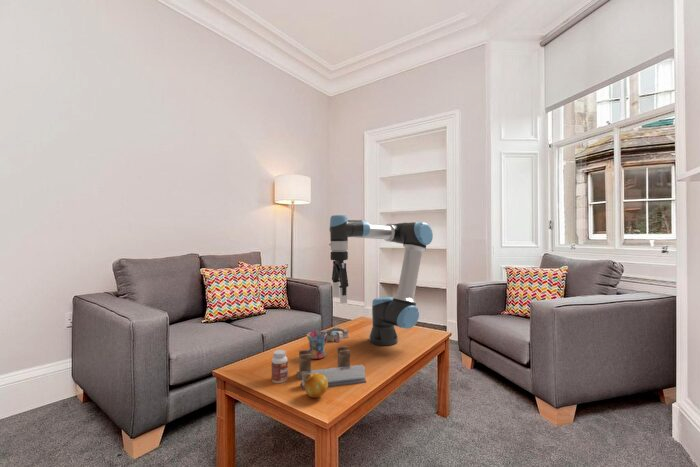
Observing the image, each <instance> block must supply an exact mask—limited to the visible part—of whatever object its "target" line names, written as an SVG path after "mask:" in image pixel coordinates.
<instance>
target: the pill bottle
mask: <svg viewBox="0 0 700 467" xmlns="http://www.w3.org/2000/svg"><path fill="white" fill-rule="evenodd" d="M286 354H287V353H286V350H284V349H277V350H274V351H273V357H272V358H271V381H272V383H274V384H282V383H285V382H286V381H288V378H289V375H288V374H289V373H288V372H289V371H288V370H289V368H288V367H289V365H288V364H289V363H288V361H289V359H288V357H287V356H286Z"/></svg>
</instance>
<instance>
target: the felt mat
mask: <svg viewBox="0 0 700 467" xmlns="http://www.w3.org/2000/svg"><path fill="white" fill-rule="evenodd" d="M364 383H367V379H366V378H365V379H362V380H354V381H346V382H338V383H330V384H328V388H331V387H332V388H333V387H338V386H347V385H354V384H364ZM301 385H302V384H301ZM302 389H303V391H305V387H303V385H302Z"/></svg>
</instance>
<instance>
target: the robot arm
mask: <svg viewBox="0 0 700 467" xmlns="http://www.w3.org/2000/svg"><path fill="white" fill-rule="evenodd" d="M329 233H330V234H329V235H330V237H329V238H330V240H329V241H330V243H329V244H328V245H329V246H330V250H331V251H330V260H331V261H333V262H332V274H331V281H332V297H333V298H340V300H339V303H340V304H348V287H349V280H348V279H349V278H348V274H347V272H348V271H347V263H345V262H344V261H348V259H349V251H348V250H349V240H348V238H356V239H357V238H358V239H371V240H372V239H373V240H374V239H375V240H384V241H385V242H391V243H396V244H401V245H402V246H403V248H404V249H405V251H404V255H403V261H402V266H401V271H400V277H399V282H398V287H397V291H396V292H397V294H396V295H394V297H393V296H386V297H385V296H382V297H377V298H376V297H375V298H374V299H373V300H372V302H371V303H372V305H371V308H372V309H371V310H372V311H371V313H372V314H371V316H372V321H371V322H372V327H371V330H370V333H369V338H368V339H369V340H368V341H369V343H371V344H374V345H377V346H392V345H396V344H397V343H398V342H399V338H398V333H397V331H396V328H395V327H398V328H401V329H404V330H405V329H406V330H407V329H412V328H413V327H414V326H416V325H417V323H418V321H419V319H420V311H419V308H418V307H417V302H416V300H415V293H416V289H417V283H418V276H419V271H420V266H421V259H422V256H423V255H422V254H423V252H424V251H426V248H427V246H428V245H430V244H431V243H432V241H433V238H434V237H433V230H432V228H431V226H430V225H429V224H428V223H427V222H424V221H416V222H413V221H412V222H411V221H410V222H400V223H386V224H375V223H370V222H369V221H368V220H366V219H365V220H363V219H352V220H351V219H348V216H347V215H343V214H341V215H339V214H338V215H337V214H336V215H335V214H334V215H331V216H330V220H329Z"/></svg>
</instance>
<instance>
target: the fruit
mask: <svg viewBox="0 0 700 467" xmlns="http://www.w3.org/2000/svg"><path fill="white" fill-rule="evenodd" d="M328 388H329V387H328V381H327V378H326V377H325V376H324V375H322V374H320V373H313V374H309V375H308V376H307V377H306V381H305V390H304V391H305V393H306V394H307V395H308V397H309V398H310V397H311V398H314V399H316V398H320V397H321V396H323V395H324V394H325V393H326V392H327V390H328Z"/></svg>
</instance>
